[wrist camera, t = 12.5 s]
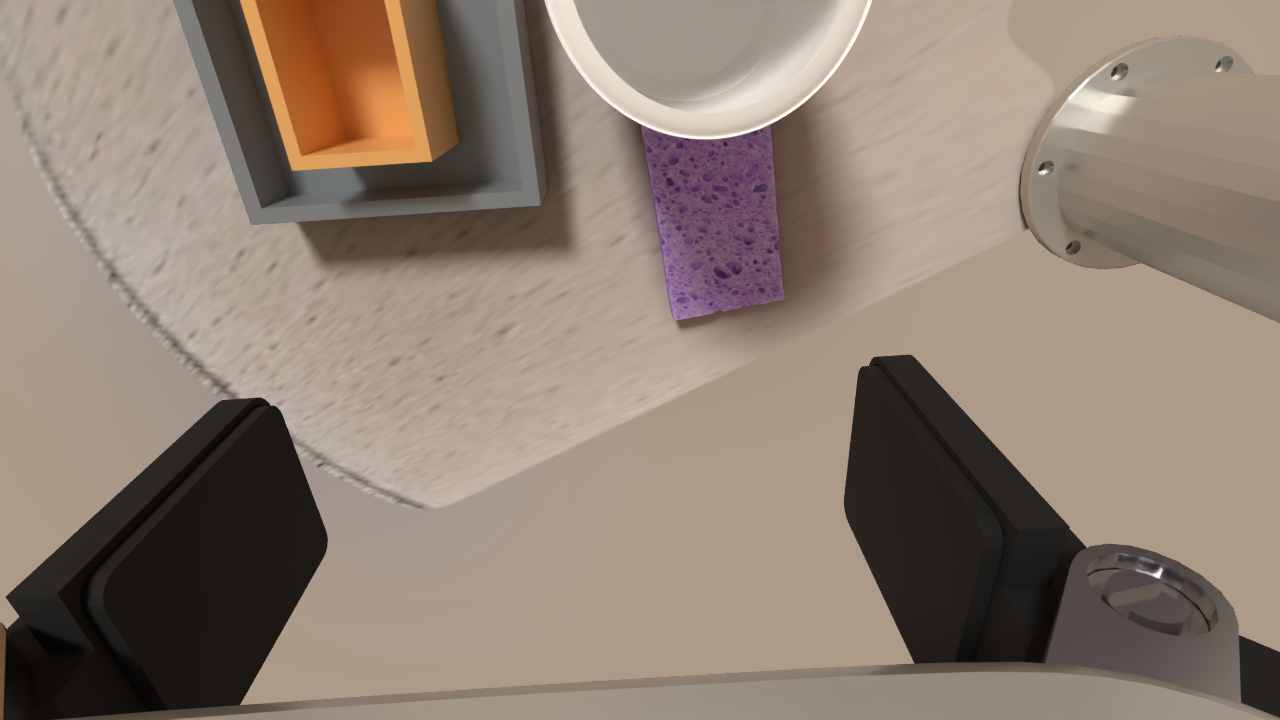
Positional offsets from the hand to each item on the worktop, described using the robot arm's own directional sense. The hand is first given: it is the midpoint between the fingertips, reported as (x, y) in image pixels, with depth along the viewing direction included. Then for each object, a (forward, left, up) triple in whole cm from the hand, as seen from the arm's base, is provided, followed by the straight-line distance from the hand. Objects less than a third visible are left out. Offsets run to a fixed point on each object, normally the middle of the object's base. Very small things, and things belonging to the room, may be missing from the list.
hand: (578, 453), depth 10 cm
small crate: (+11, -6, -28) cm, 30 cm away
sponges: (-6, +3, -29) cm, 30 cm away
